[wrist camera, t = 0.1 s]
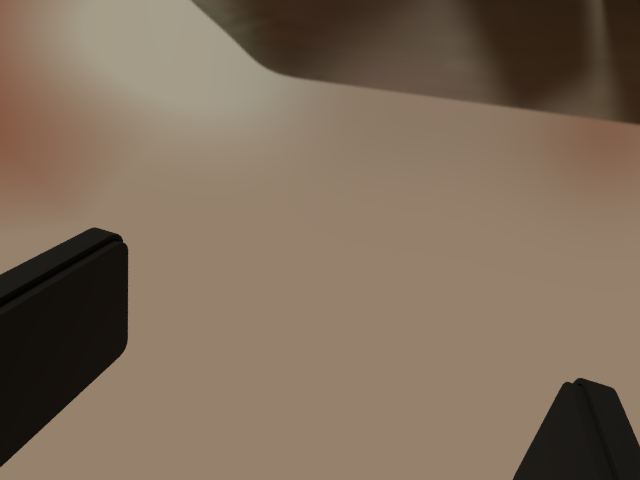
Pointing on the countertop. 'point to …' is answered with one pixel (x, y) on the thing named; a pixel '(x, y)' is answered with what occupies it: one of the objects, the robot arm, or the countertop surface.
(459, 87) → the countertop surface
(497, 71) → the countertop surface
